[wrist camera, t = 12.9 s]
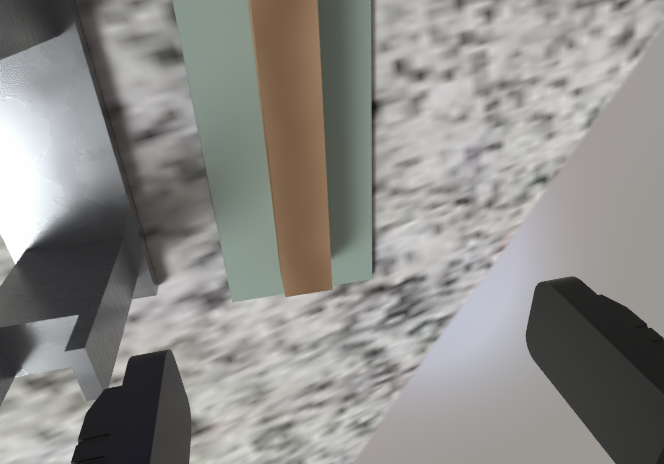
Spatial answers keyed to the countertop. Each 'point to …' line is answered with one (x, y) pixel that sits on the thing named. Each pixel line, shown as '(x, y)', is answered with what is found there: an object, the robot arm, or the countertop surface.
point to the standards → (62, 205)
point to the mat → (249, 146)
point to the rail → (294, 138)
